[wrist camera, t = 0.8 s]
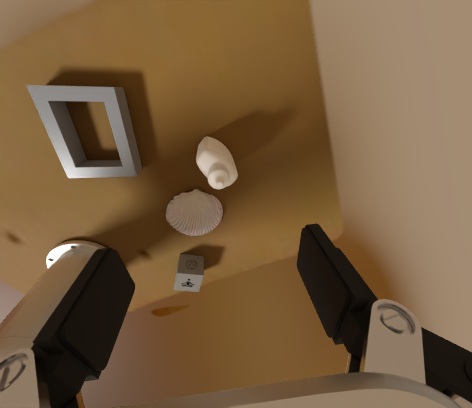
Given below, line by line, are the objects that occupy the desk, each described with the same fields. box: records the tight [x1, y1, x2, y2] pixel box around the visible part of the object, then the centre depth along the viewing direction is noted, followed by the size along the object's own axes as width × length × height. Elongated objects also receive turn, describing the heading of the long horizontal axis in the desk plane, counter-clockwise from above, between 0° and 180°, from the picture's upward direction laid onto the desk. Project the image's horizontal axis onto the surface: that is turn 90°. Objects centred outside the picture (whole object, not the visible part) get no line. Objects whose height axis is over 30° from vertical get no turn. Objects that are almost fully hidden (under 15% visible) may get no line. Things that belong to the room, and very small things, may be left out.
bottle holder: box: [26, 85, 142, 178], centre depth 26 cm, size 11×9×3 cm
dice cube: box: [173, 254, 204, 292], centre depth 40 cm, size 5×5×5 cm
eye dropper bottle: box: [196, 136, 238, 189], centre depth 26 cm, size 4×6×12 cm
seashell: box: [166, 189, 223, 236], centre depth 35 cm, size 10×6×10 cm
